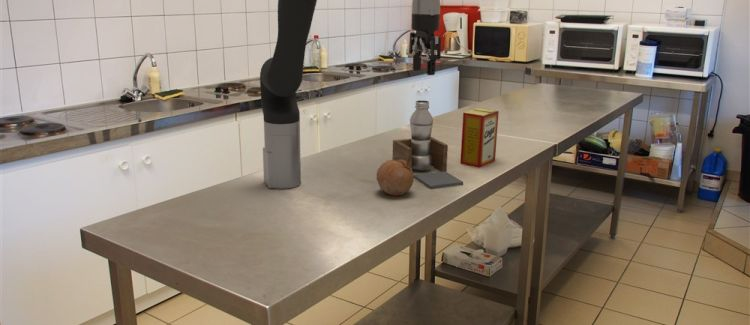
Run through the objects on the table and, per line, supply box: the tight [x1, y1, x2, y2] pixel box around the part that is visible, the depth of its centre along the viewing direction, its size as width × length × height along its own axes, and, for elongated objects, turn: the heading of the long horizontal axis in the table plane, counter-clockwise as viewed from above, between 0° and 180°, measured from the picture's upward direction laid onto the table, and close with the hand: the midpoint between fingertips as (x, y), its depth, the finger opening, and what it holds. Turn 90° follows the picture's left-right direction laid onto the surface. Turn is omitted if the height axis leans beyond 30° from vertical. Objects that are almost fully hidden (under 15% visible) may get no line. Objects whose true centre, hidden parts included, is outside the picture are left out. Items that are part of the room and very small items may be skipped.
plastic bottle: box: [409, 99, 434, 172], centre depth 176 cm, size 6×7×20 cm
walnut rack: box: [391, 136, 449, 172], centre depth 178 cm, size 12×10×8 cm
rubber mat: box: [413, 170, 464, 189], centre depth 169 cm, size 10×10×1 cm
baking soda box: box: [459, 107, 500, 169], centre depth 185 cm, size 10×6×16 cm
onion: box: [376, 159, 415, 197], centre depth 158 cm, size 10×9×10 cm
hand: (423, 72), depth 171 cm, fingers open, 8 cm apart
